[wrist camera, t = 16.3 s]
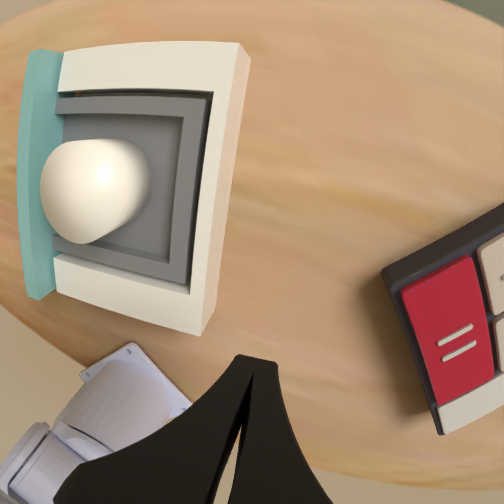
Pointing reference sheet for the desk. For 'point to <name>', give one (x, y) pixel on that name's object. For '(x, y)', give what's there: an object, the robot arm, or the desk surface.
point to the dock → (212, 183)
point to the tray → (100, 127)
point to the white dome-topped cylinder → (94, 187)
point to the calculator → (456, 319)
